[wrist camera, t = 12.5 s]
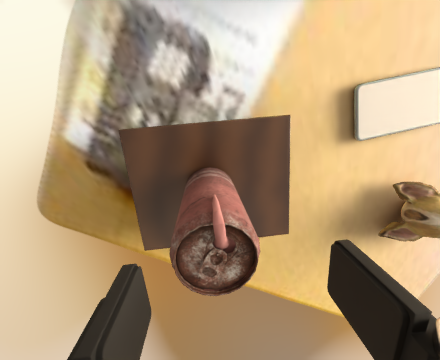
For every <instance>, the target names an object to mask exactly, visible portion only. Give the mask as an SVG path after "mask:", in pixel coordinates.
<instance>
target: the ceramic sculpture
mask: <svg viewBox="0 0 440 360" xmlns="http://www.w3.org/2000/svg"><path fill="white" fill-rule="evenodd" d="M393 187H394V189H395V191H396V193H397V194H398V196H399V198H401V199H402V200H406V202H405V204H404V205H403V207H402V210H401V217H402V219H403V220H404V223H402V222H392V223H390V224H389V225H387V226H386V227H385V228H384V229H383V230H382V231H381V232H380V233H379V236H380V237H388V238H391V239H397V240H399V241H416V240H418V239H420V238H422V237H432V238H440V194H439V193H438V191H437V190H436V189H435V188H434V187H433V186H431V185H427V184H423V183H421V182H401V183H397V184H394V185H393Z"/></svg>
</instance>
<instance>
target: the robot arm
mask: <svg viewBox="0 0 440 360" xmlns="http://www.w3.org/2000/svg"><path fill="white" fill-rule="evenodd" d="M327 287H328V292H329V295H330V296H331V298H332V299H333V301H334V302H335V303H336V305H337V306H338V308H339V309H340V311H341V312H342V314H343V315H344V316H345V318H346V319H347V321H348V322H349V324H350V325H351V326H352V328H353V329H354V331H355V332H356V334H357V335H358V337H359V338H360V339H361V341H362V342H363V344H364V345H365V347H366V348H367V350H368V351H369V352H370V354H371V355H372V357H373V358H374V360H440V318H438V319H436V318H435V317H434V316H433V315H431V313H432V312H431V311H430V310H429V309H428V308H427V307H426V306H424V305H423V304H422V303H421V302H420V301H419V300H418V299H416V298H415V297H414V296H413V295H412V294H411V293H409V292H408V291H407V290H406V289H405V288H404V287H403V286H401V285H400V284H399V283H398V282H397V281H396V280H395V279H393V278H392V277H391V276H390V275H389V274H388V273H386V272H385V271H384V270H383V269H382V268H381V267H380V266H378V265H377V264H376V263H375V262H374V261H373V260H371V259H370V258H369V257H368V256H367V255H366V254H365V253H363V252H362V251H361V250H360V249H359V248H358V247H357V246H355V245H354V244H353V243H352V242H351V241H349V240H339V241H335V242H334V244H332V246H331V254H330V265H329V276H328V286H327ZM150 319H151V307H150V302H149V298H148V294H147V290H146V285H145V281H144V277H143V273H142V269H141V267H140V266H139V267H138V266H137V264H129V265H123V266H122V268H121V270H120V271H119V273H118V275H117V277H116V279H115V280H114V282H113V284H112V286H111V288H110V290H109V292H108V293H107V295H106V297H105V298H103V299H102V300H101V301H100V302H99V304H98V306H97V307H96V309H95V311H94V313H93V315H92V316H91V318H90V320H89V322H88V324H87V325H86V327H85V329H84V331H83V332H82V334H81V336H80V338H79V340H78V341H77V343H76V345H75V347H74V348H73V350H72V352H71V354H70V356H69V357H68V359H67V360H140V356H141V353H142V349H143V345H144V341H145V337H146V334H147V330H148V326H149V322H150Z"/></svg>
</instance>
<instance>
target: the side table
mask: <svg viewBox="0 0 440 360" xmlns="http://www.w3.org/2000/svg"><path fill="white" fill-rule="evenodd" d="M119 134H120V139H121V144H122V148H123V153H124V157H125V162H126V167H127V171H128V176H129V180H130V185H131V190H132V194H133V199H134V204H135V208H136V213H137V217H138V222H139V227H140V231H141V236H142V240H143V245H144V250H145V251H146V250H155V249H163V248H170V246H171V240H172V236H173V233H174V229H175V225H176V221H177V217H178V213H179V209H180V205H181V201H182V197H183V194H184V190H185V186H186V183H187V181H188V179H189V177H190V176H191V175H192V174H193V173H194V172H196V171H198V170H200V169H203V168H209V167H211V168H217V169H220V170H222V171H224V172H225V173H226V174H227V175H228V176H229V177H230V178H231V180H232V182H233V184H234V187H235V189H236V191H237V193H238V195H239V197H240V200H241V202H242V204H243V206H244V208H245V210H246V213H247V215H248V217H249V219H250V221H251V223H252V226H253V228H254V230H255V232H256V234H257V236H258V237H266V236H274V235H283V234H289V177H290V115H282V116H270V117H259V118H247V119H236V120H224V121H213V122H201V123H189V124H178V125H166V126H155V127H143V128H132V129H122V130H119Z"/></svg>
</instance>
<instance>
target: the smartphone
mask: <svg viewBox="0 0 440 360" xmlns="http://www.w3.org/2000/svg"><path fill="white" fill-rule="evenodd" d="M435 124H440V67H439V68H435V69H430V70H425V71H420V72H416V73H411V74H406V75H401V76H397V77H392V78H387V79H381V80H377V81H373V82H368V83H363V84H359V85H358V86H356V88H355V90H354V125H355V139H356V140H358V141H362V140H367V139H371V138H376V137H381V136H385V135H390V134H394V133H399V132H403V131H408V130H412V129H417V128H421V127H426V126H430V125H435Z"/></svg>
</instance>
